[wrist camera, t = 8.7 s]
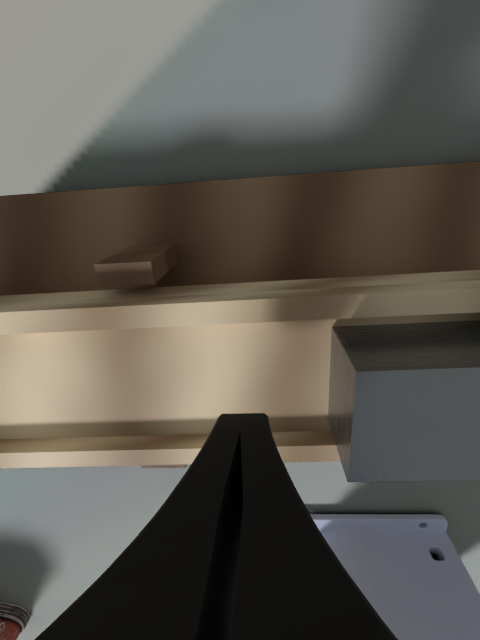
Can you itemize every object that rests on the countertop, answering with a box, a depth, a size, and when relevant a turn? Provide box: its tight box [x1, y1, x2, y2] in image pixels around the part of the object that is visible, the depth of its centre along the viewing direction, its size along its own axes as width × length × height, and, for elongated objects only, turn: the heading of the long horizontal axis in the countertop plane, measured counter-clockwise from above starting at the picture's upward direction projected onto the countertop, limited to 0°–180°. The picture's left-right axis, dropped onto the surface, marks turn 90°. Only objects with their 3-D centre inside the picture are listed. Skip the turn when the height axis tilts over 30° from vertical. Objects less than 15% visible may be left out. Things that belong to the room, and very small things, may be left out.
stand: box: [0, 161, 480, 468], centre depth 15 cm, size 30×14×4 cm, turn 94°
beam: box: [0, 270, 480, 468], centre depth 13 cm, size 27×7×2 cm, turn 94°
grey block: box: [328, 320, 480, 482], centre depth 11 cm, size 5×4×3 cm
